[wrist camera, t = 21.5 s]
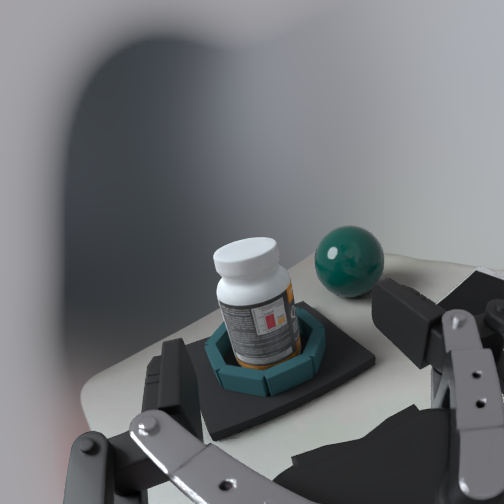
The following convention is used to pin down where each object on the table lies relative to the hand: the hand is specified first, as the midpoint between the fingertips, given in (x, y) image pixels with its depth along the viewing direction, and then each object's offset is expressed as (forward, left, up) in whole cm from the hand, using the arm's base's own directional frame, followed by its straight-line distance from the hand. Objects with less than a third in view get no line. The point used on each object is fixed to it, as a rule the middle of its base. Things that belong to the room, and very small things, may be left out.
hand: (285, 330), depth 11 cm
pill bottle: (+2, +10, -10) cm, 14 cm away
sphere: (+15, +15, -11) cm, 24 cm away
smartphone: (+23, +2, -11) cm, 25 cm away
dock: (+2, +10, -11) cm, 15 cm away
